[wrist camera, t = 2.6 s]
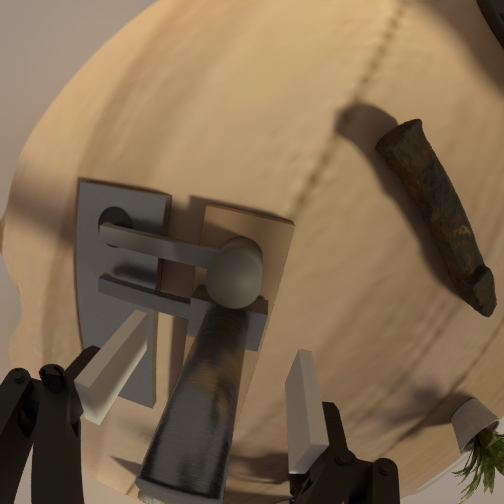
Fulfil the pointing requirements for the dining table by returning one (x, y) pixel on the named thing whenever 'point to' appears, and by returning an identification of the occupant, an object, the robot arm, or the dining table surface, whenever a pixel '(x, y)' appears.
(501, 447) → the house plant
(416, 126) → the hand tool
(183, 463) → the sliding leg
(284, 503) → the utensil holder
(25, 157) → the dining table surface
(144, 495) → the seashell
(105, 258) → the bolt plate
